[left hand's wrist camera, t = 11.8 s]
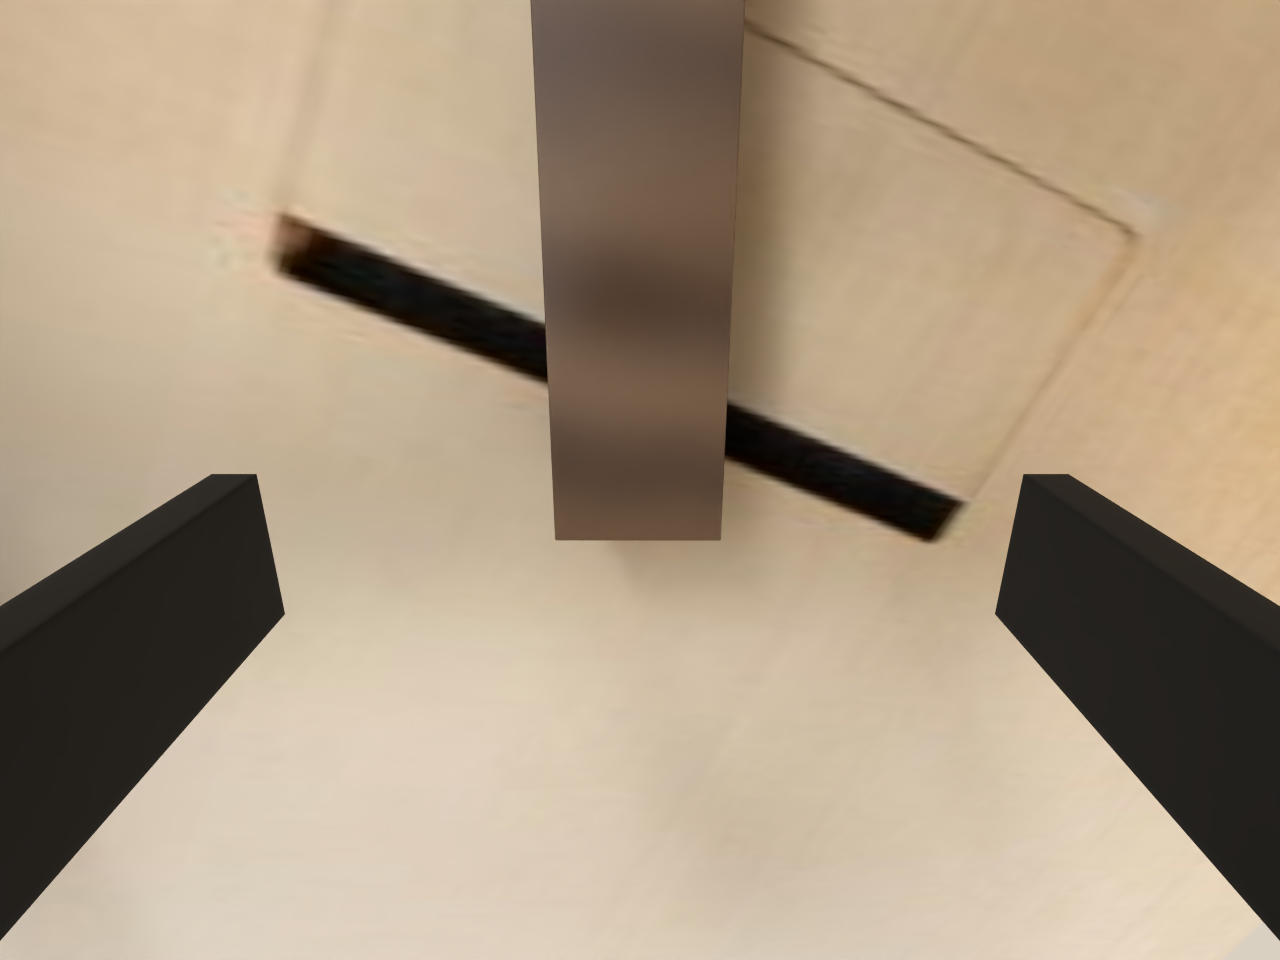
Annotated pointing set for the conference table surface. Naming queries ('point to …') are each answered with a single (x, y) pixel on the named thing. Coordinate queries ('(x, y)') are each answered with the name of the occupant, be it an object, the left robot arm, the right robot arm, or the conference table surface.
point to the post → (637, 258)
